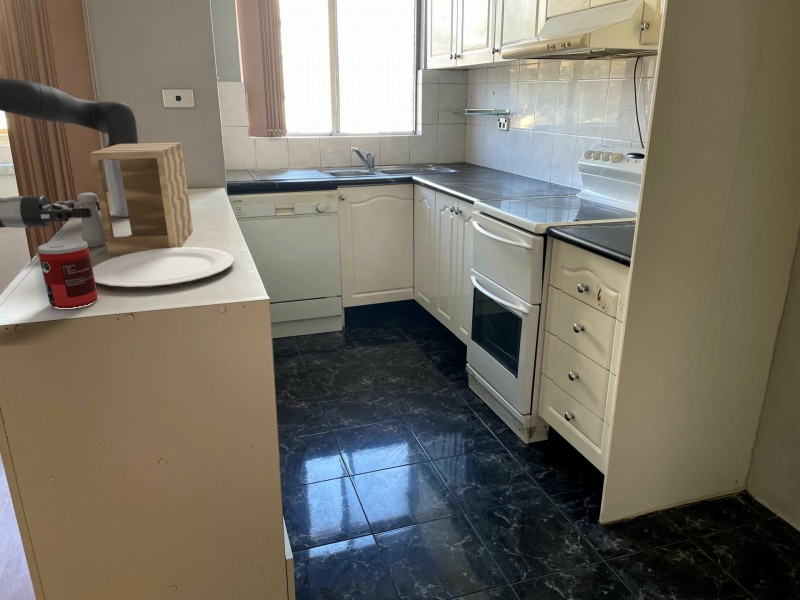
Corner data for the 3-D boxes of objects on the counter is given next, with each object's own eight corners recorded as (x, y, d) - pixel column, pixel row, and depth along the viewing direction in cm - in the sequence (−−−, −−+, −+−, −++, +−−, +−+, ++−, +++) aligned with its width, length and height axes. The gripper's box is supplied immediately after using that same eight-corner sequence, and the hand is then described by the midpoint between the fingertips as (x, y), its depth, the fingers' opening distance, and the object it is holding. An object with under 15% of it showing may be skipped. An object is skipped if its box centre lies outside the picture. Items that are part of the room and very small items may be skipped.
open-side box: (133, 233, 161) (118, 144, 153) (192, 231, 163) (181, 142, 155) (108, 255, 140) (89, 152, 133) (177, 252, 143) (162, 151, 135)
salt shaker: (98, 248, 147) (88, 195, 142) (78, 247, 148) (67, 195, 143) (113, 242, 152) (104, 191, 148) (94, 241, 153) (84, 190, 149)
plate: (240, 251, 144) (239, 243, 143) (228, 289, 117) (227, 280, 116) (111, 258, 139) (109, 250, 138) (68, 300, 112) (66, 290, 111)
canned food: (61, 297, 113) (49, 240, 109) (105, 295, 113) (94, 238, 110) (42, 311, 105) (28, 251, 102) (88, 309, 106) (76, 249, 102)
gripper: (8, 201, 137) (84, 199, 139) (34, 191, 150) (103, 189, 152) (16, 233, 139) (90, 230, 142) (41, 221, 153) (108, 218, 155)
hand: (96, 209), depth 147 cm, fingers open, 8 cm apart
